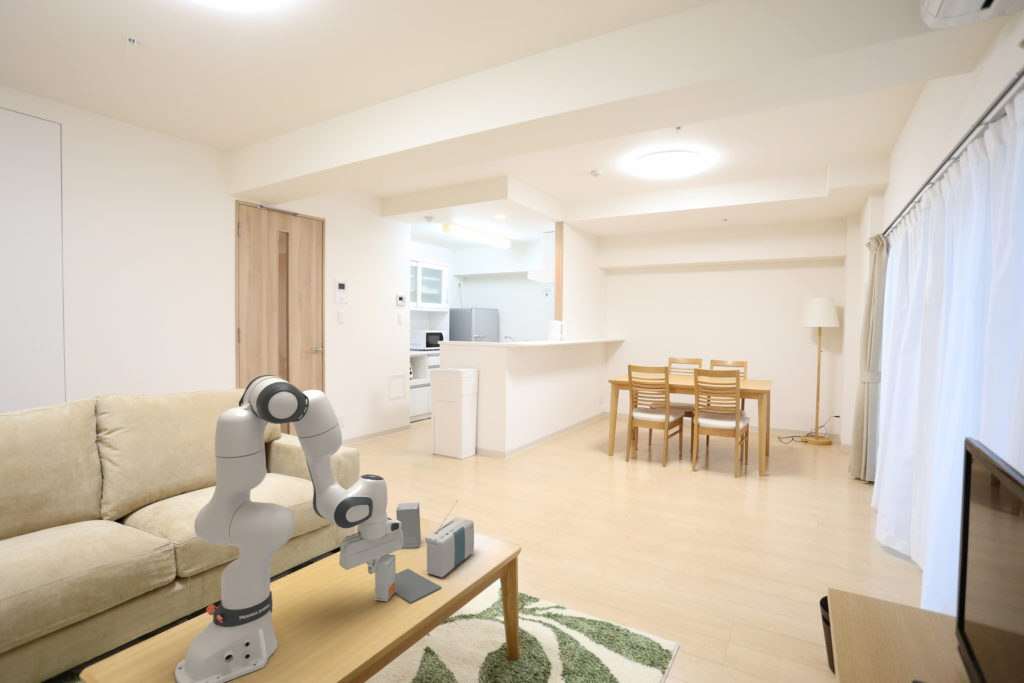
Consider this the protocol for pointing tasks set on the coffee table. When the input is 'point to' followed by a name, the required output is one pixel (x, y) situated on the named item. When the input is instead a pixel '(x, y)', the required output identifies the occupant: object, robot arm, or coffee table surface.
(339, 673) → the coffee table surface
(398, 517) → the skincare box
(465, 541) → the stereo radio cassette player
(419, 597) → the mat
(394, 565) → the skincare box
